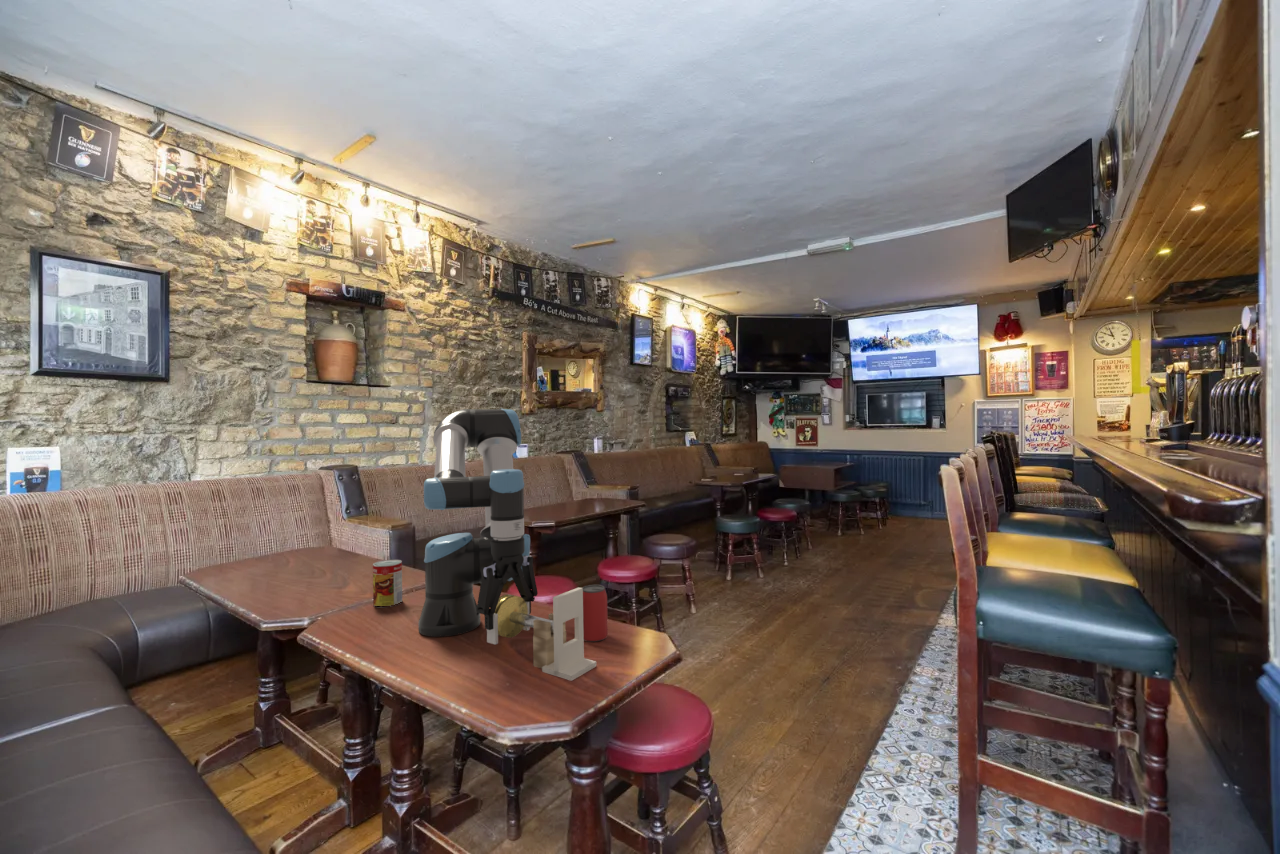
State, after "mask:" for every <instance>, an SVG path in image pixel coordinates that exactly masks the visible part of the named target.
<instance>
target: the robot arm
mask: <svg viewBox="0 0 1280 854" xmlns="http://www.w3.org/2000/svg"><path fill="white" fill-rule="evenodd" d="M519 418H520V417H519V416H518V413H517V412H516V411H515V410H513V409H505V408H499V409H497V408H496V409H494V408H493V409H492V408H491V409H489V408H488V409H486V408H485V409H484V408H483V409H481V408H479V409H478V408H477V409H476V408H475V409H473V408H472V409H471V408H468V409H467V408H464V409H460V410H456V411H454V412H452V413H450V414H448V415H447V416H445V417H444V418H443V419H441V421H440V422H438V424H437V426H436V427H435V429H434V432H433V437H432V439H433V444H434V447H435V448H436V449H435V463H434V475H433V477H432V478H429V477H428V478H427V479H425V480H424V483H423V504H424V505H423V506H424V508H425V509H427V510H429V511H432V510H433V511H434V510H435V511H436V510H440V511H444V510H456V509H457V510H459V509H468V508H469V509H472V508H484V517H485V519H484V520H485V526H484V527H483V528H482V529H481V530H480V533H479V536H480V537H477V538H474V537H473V535H472V533H471V532H457V533H452V534H447V535H443V536H439V537H437V538H434V539H432V540H430V541H429V542H428V543H426V545H425V549H424V559H423V562H424V563H425V566H424V568H425V569H424V571H425V572H424V574H425V575H424V577H425V578H424V579H425V583H424V584H425V586H424V587H425V591H424V592H425V597H424V599H425V600H424V603H423V607H422V609H421V613H420V617H419V619H418V633H419V634H420V635H423V636H426V637H434V638H439V637H440V638H441V637H443V638H444V637H452V636H458V635H462V634H465V633H468V632H470V631H474V630H475V629H477V628H478V627H479V626H480V625H481V615H484V629H485V630H486V643H488V644H491V645H498V644H499V635H498V614H496V613H495V610H496V607H497V604H498V601H499V598H500V597H501V596H502V591H503V588H504V585H506V584H507V582H511V581H513V582H514V585H515V587H516V589H517V592H518V594H519V597H521V598H523V599H524V600H525V602H526V604H527V608H528V615H531V613H532V603H533V602H534V601H535V600H536V599H535V597H536V596H538V588H537V587H538V586H537V582H536V581H537V580H536V577H535V576H536V575H535V573H534V567H533V564H534V557H533V556H531V555H530V552H531V551H530V550H531V536H530V534H527V533H525V510H524V509H525V507H524V506H525V505H524V504H525V500H524V499H525V498H524V497H525V496H524V495H525V493H524V492H525V490H524V489H525V481H524V472H523V471H522V470H521V469H515V468H514V460H513V457H514V456H513V454H515V453H516V452H517V450H518V449H517V448H518V447H519V446H521V443H522V431H521V429H522V428H521V423H520V419H519ZM466 448H477V449H476V450H477V453H478V454H479V455H480V456H481V457H482V463H483V464H482V466H483V468H482V469H483V475H481V476H480V475H479V476H466ZM475 584H480V588H479V591H478V592H479V593H478V598H477V601H476V598H475V597H474V585H475ZM523 630H524V631H527V632H528V631H530V630H531V627H528V626H524V627H523V629H522V631H523Z"/></svg>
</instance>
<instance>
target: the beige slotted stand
mask: <svg viewBox="0 0 1280 854" xmlns="http://www.w3.org/2000/svg"><path fill="white" fill-rule="evenodd" d="M552 606H553V607H552V608H553V609H552V610H553V611H552V613H553V624H554V662H553V663H551V664H549V665H548V666H547V665H545V666H543V667H542V669H541V671H542V673H545V674H548V675H552V676H555V677H558V678H561V679H564V680H568V681H569V682H570V681H573V680H575V679H577V678H579V677H580V676H582V675H584V674H586V673H587V672H590V670H591V671H592V670H593V669H594V668H596V667H597V661H596V660H592V659H590V658H585V645H584V641H585V640H584V631H583V587H579V586H578V587H576V588H574V589H573V588H572V589H571V590H569V591H564V592H563V593H560V594H557V595H555V596H552ZM572 619H574V638H573V639H570V640H568V641H566V643H564V644H563V623H564V622H565V623H566V622H568V621H570V620H572Z"/></svg>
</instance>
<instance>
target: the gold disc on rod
mask: <svg viewBox="0 0 1280 854" xmlns="http://www.w3.org/2000/svg"><path fill="white" fill-rule="evenodd" d="M495 613H496V614H498V636H501V637H503V638H504V637H505V638H506V639H507V638H508V639H509V638H510V639H511V638H513V637H516V636H517V635H518V634H519V633H521V631H523V627H524V626H528V627H530V628H533V629H534V622H533V621H534V620H536V619H538V620H542V621H546V622H550V623H551V633H554V624H553V620H549V618H544V617H540V616H535V615H531V614H530V615H528V608H527V604H526V602H525V600H524V599H523V598H521V596H518V595H512V594H510V593H509V594H503V595H500V598H499V601H498V604H497V607H496V610H495Z"/></svg>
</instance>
